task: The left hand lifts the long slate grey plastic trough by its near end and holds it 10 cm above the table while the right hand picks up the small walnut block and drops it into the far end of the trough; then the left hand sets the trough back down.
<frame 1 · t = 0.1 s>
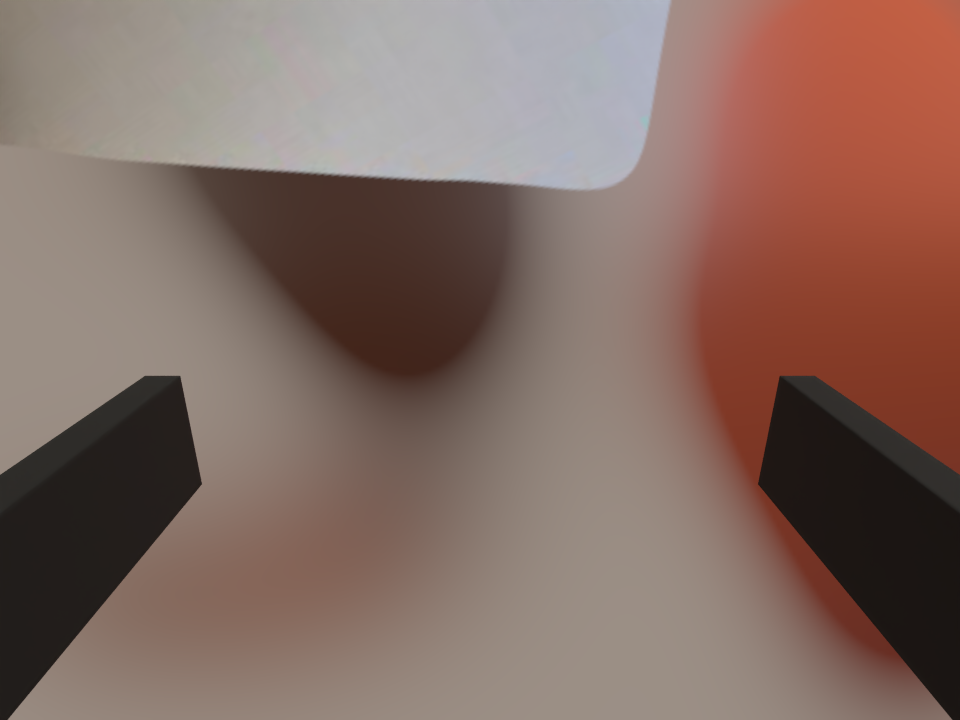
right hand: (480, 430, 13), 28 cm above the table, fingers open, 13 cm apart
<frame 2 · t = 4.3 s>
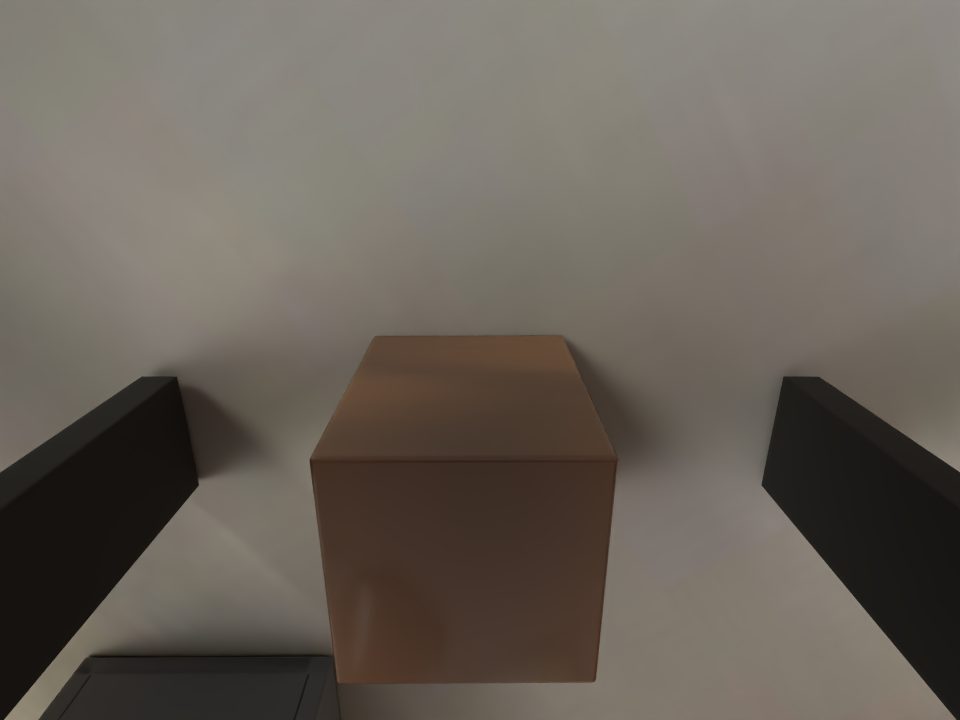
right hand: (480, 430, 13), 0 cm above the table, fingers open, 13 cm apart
walnut block: (469, 419, 13), on the table
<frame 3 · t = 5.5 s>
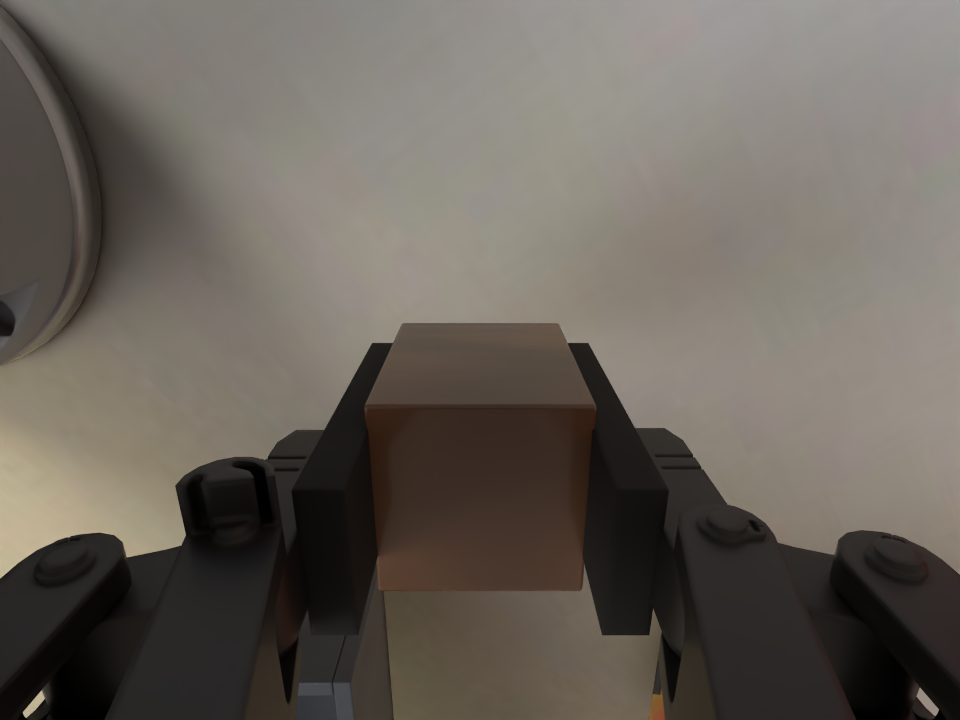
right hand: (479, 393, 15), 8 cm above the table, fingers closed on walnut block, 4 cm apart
walnut block: (480, 394, 15), point 7 cm above the table, touching right hand
apple: (722, 650, 27), on the table
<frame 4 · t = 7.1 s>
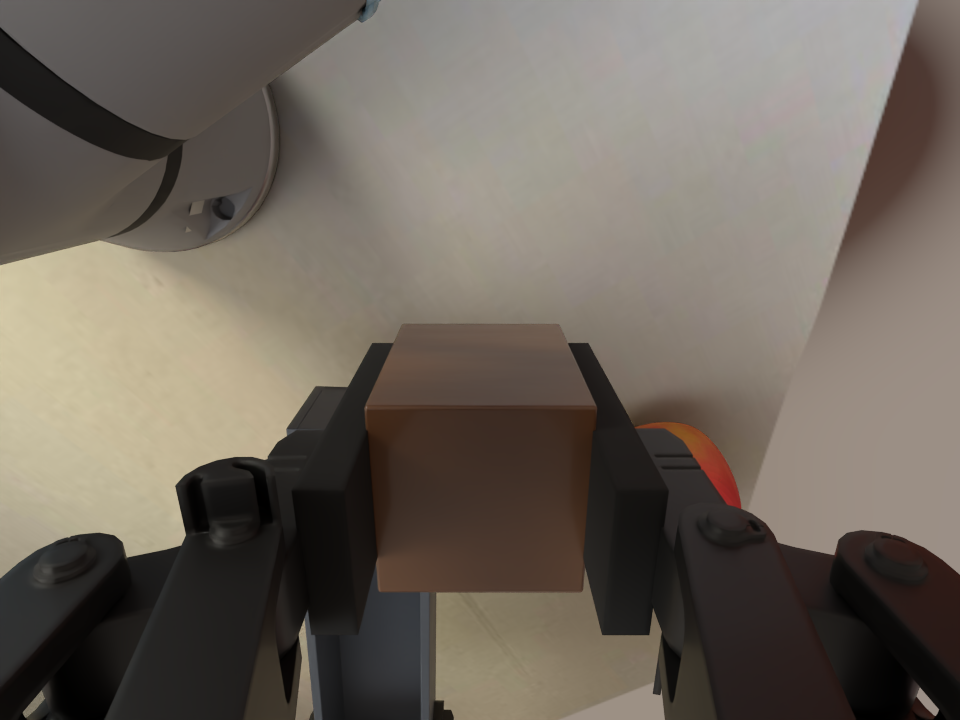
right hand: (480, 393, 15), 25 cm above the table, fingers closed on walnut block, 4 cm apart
grey trough: (383, 592, 36), point 10 cm above the table, touching left hand
walnut block: (480, 395, 15), point 24 cm above the table, touching right hand
apple: (640, 452, 43), on the table
when the right hand's fingers open (20 cm above the table, at t = 9.2 s): walnut block drops 9 cm, resting on grey trough.
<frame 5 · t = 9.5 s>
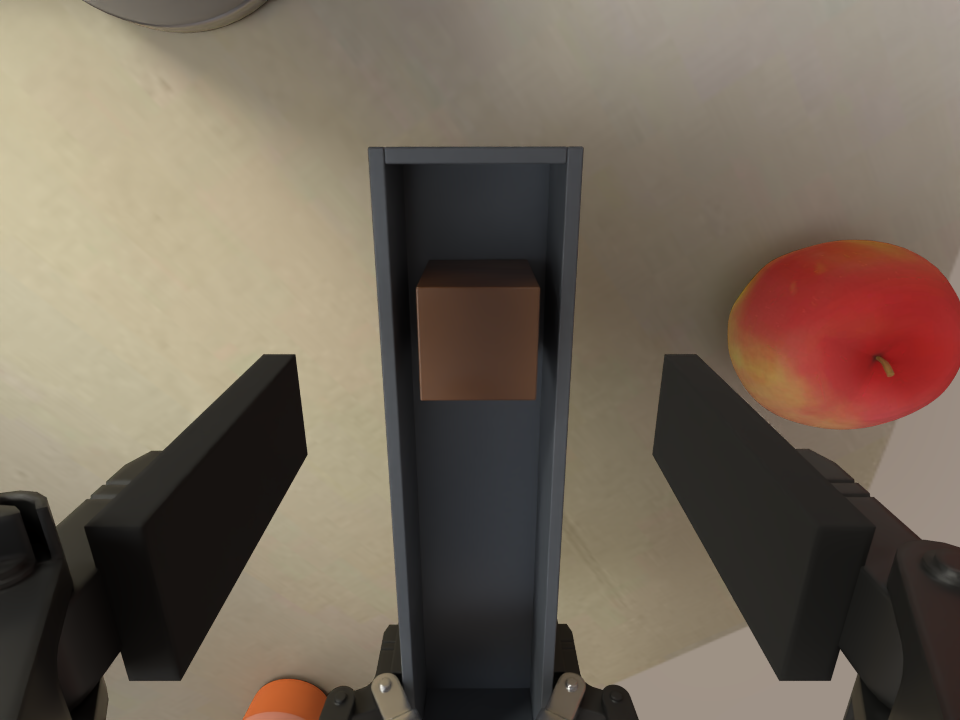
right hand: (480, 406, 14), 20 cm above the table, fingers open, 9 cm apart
grey trough: (477, 464, 27), point 10 cm above the table, touching left hand, walnut block
walnut block: (478, 307, 24), point 10 cm above the table, touching grey trough
apple: (779, 306, 34), on the table
cup with straw: (293, 703, 46), on the table
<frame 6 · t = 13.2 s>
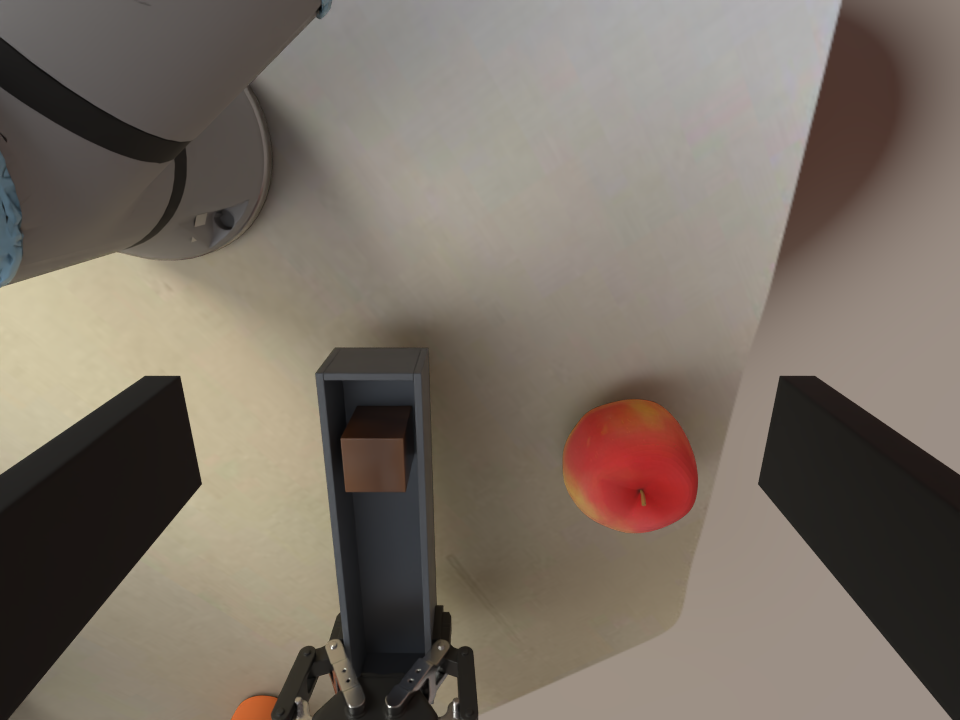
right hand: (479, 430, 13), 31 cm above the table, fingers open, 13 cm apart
left hand: (396, 613, 47), fingers closed on grey trough, 6 cm apart
grey trough: (392, 515, 45), point 5 cm above the table, touching left hand, walnut block
walnut block: (386, 430, 41), point 5 cm above the table, touching grey trough
apple: (612, 429, 47), on the table
cup with straw: (267, 714, 59), on the table
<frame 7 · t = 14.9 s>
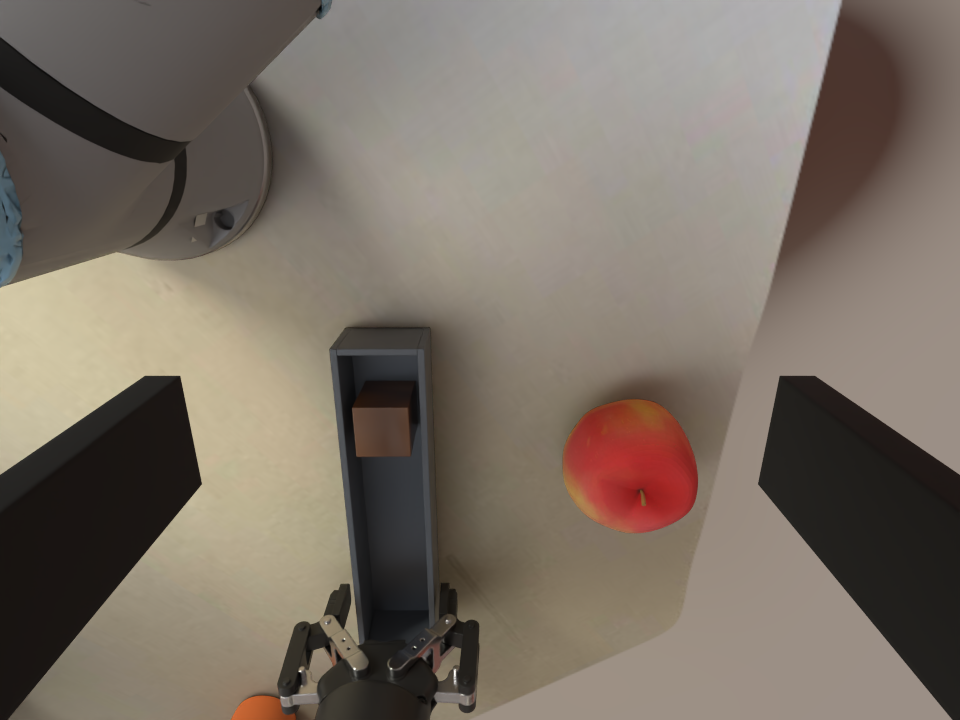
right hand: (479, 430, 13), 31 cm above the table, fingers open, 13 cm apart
left hand: (396, 590, 49), fingers open, 8 cm apart
grey trough: (397, 482, 49), on the table, touching walnut block
walnut block: (391, 403, 46), point 1 cm above the table, touching grey trough
apple: (612, 429, 47), on the table
cup with straw: (267, 714, 59), on the table
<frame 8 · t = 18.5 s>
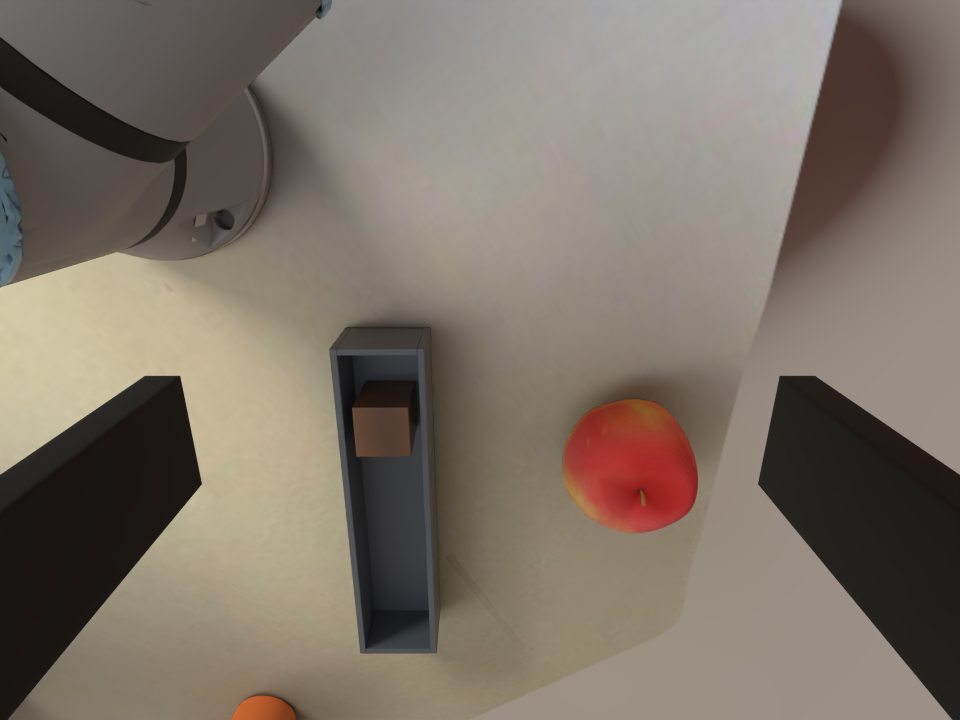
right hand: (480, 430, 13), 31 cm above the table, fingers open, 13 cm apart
grey trough: (397, 482, 49), on the table, touching walnut block
walnut block: (391, 403, 46), point 1 cm above the table, touching grey trough
apple: (612, 429, 47), on the table
cup with straw: (267, 714, 59), on the table
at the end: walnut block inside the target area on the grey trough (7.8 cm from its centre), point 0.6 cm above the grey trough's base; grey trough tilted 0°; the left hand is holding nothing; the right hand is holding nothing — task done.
